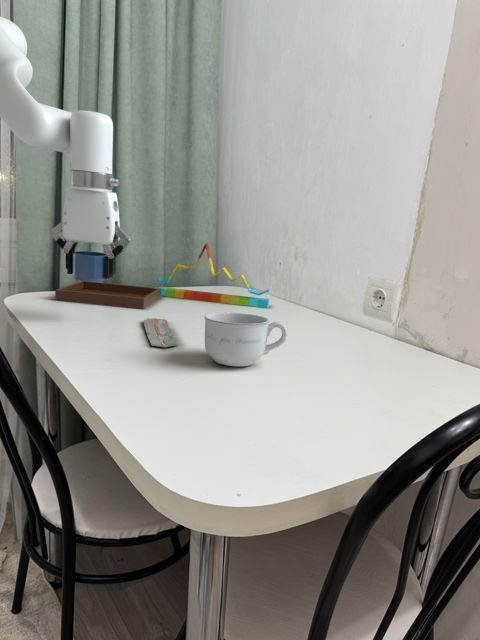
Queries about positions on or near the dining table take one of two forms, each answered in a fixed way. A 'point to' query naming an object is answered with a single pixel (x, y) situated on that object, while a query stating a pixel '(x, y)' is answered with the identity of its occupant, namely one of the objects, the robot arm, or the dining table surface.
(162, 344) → the map
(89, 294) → the tray
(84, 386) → the dining table surface
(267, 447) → the dining table surface
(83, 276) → the blue short cylinder
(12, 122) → the robot arm
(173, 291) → the chart
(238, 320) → the teacup
